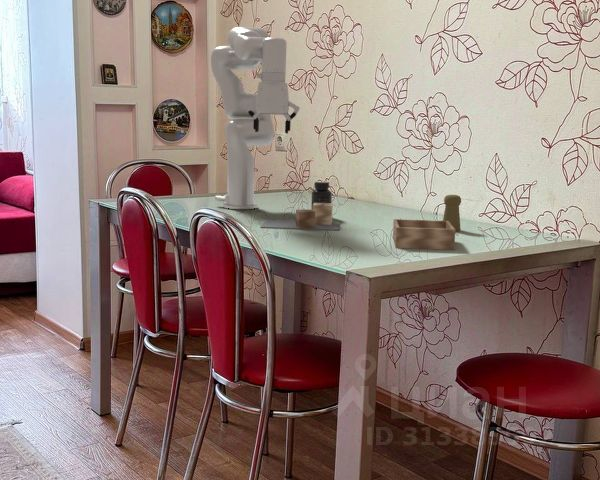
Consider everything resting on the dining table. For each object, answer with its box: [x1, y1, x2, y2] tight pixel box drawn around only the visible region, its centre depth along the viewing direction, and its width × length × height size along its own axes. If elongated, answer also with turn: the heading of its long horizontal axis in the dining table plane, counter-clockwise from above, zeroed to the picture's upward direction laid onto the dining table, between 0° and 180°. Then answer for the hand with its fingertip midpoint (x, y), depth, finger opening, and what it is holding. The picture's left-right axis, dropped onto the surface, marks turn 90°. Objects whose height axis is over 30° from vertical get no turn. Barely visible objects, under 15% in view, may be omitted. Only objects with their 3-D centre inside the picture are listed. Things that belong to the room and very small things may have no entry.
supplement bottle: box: [310, 181, 333, 210], centre depth 259 cm, size 7×7×12 cm
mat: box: [259, 218, 341, 231], centre depth 244 cm, size 24×16×1 cm, turn 86°
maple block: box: [313, 202, 333, 225], centre depth 247 cm, size 6×6×6 cm
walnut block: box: [295, 209, 315, 228], centre depth 238 cm, size 5×5×5 cm
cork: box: [442, 194, 462, 233], centre depth 240 cm, size 6×6×11 cm
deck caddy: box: [392, 218, 456, 251], centre depth 216 cm, size 16×16×6 cm
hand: (271, 132), depth 249 cm, fingers open, 9 cm apart
